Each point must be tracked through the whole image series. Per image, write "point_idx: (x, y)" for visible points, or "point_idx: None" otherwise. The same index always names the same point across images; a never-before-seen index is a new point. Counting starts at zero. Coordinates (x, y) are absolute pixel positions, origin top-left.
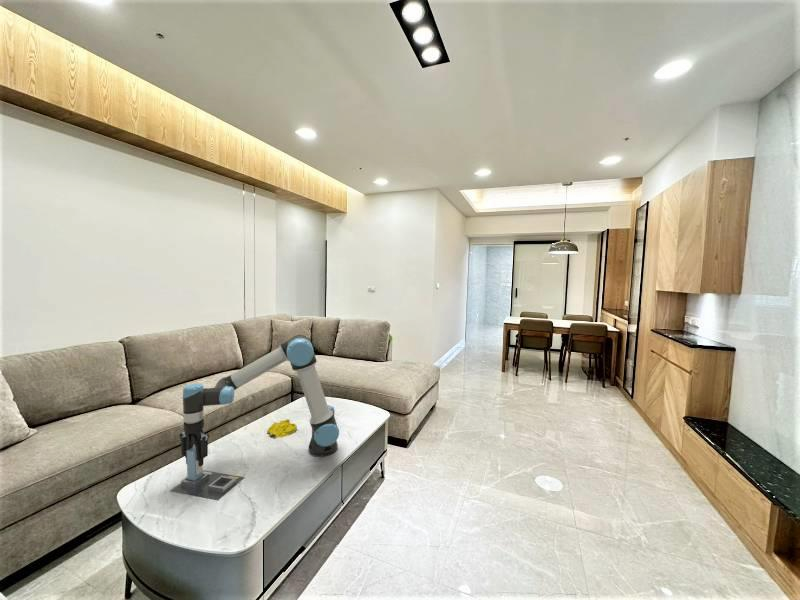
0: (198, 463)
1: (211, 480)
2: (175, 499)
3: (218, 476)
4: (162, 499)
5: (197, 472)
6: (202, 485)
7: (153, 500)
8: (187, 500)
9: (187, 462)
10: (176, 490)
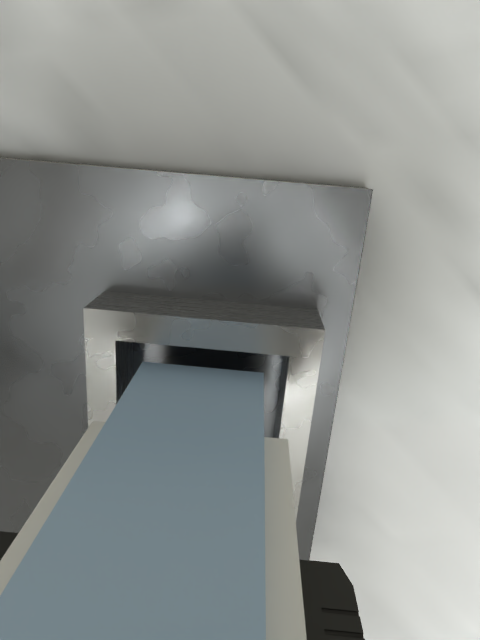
0: (1, 584)
1: (49, 432)
2: (206, 95)
3: (38, 495)
4: (369, 63)
5: (82, 439)
6: (68, 345)
7: (474, 20)
8: (49, 105)
9: (250, 583)
10: (295, 216)
